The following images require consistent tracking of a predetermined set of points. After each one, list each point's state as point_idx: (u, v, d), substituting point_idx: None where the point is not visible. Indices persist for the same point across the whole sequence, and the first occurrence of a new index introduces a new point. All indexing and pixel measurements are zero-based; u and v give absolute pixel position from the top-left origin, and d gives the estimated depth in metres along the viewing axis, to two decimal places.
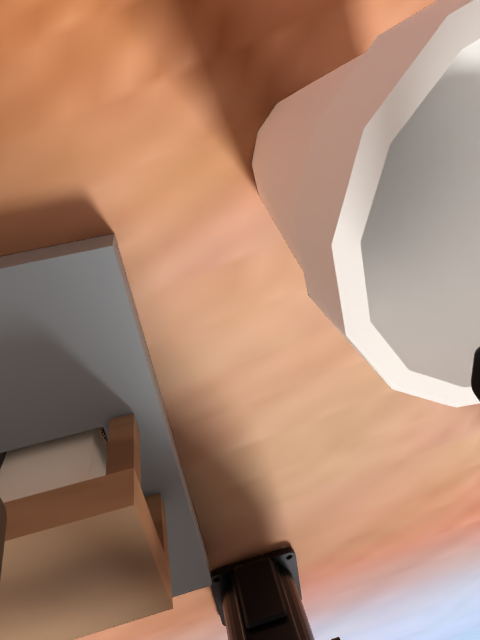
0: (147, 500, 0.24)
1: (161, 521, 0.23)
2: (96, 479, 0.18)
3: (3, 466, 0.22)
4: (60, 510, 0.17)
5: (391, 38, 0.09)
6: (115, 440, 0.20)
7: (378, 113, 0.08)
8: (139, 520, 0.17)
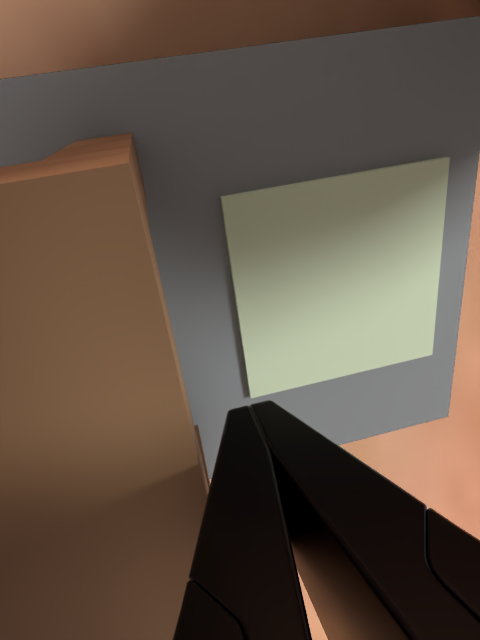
0: None
1: None
2: None
3: None
4: None
5: None
6: None
7: None
8: None
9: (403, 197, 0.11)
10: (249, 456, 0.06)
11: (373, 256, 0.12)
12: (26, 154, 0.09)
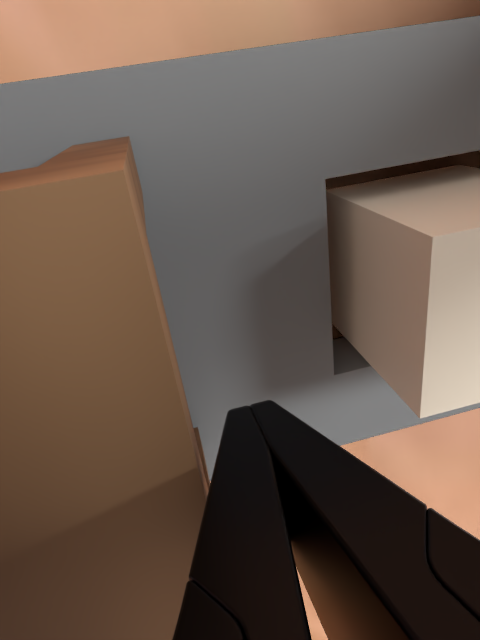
0: None
1: None
2: None
3: (358, 348, 0.13)
4: None
5: None
6: None
7: None
8: None
9: None
10: (249, 456, 0.06)
11: None
12: (477, 84, 0.11)
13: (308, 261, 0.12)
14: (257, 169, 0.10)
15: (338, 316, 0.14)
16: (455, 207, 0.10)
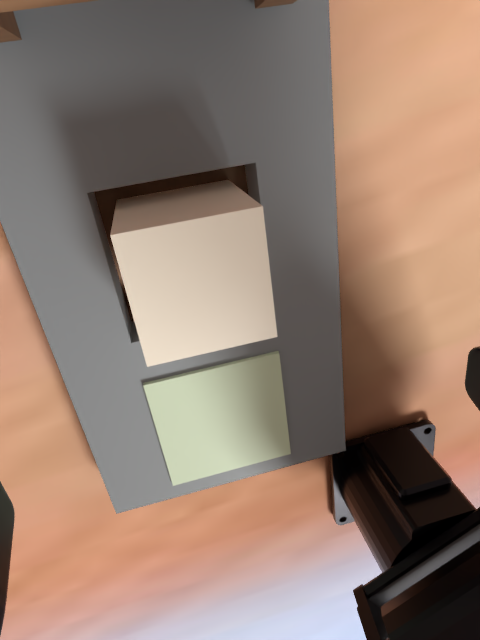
0: None
1: None
2: None
3: (117, 210, 0.15)
4: None
5: None
6: None
7: None
8: None
9: (272, 439, 0.21)
10: None
11: (241, 433, 0.21)
12: (305, 258, 0.18)
13: (196, 155, 0.15)
14: (264, 108, 0.15)
15: (130, 200, 0.17)
16: None
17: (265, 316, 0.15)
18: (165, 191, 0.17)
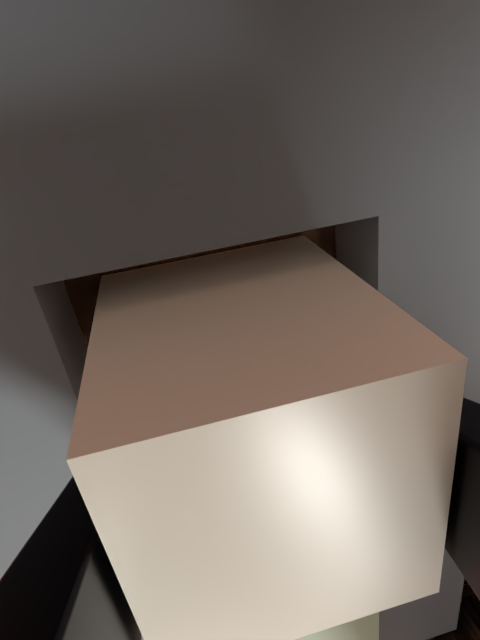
0: None
1: None
2: None
3: (99, 319, 0.07)
4: None
5: None
6: None
7: None
8: None
9: (354, 633, 0.13)
10: None
11: None
12: None
13: (263, 204, 0.07)
14: (408, 106, 0.07)
15: (127, 284, 0.09)
16: None
17: (423, 564, 0.07)
18: (191, 260, 0.09)
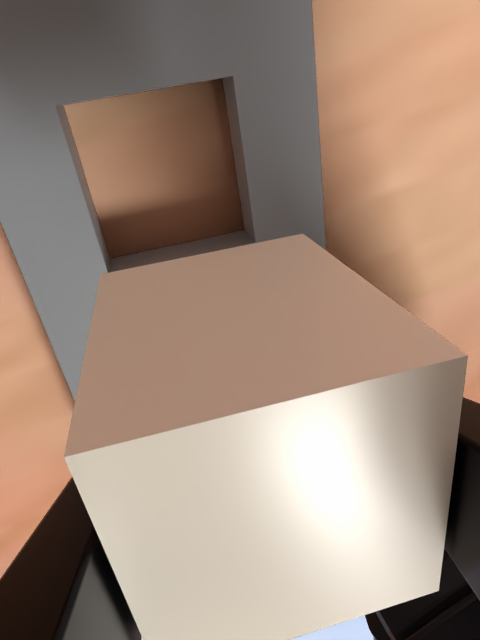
0: None
1: None
2: None
3: (98, 317, 0.07)
4: None
5: None
6: None
7: None
8: None
9: None
10: None
11: None
12: (288, 185, 0.17)
13: (169, 65, 0.14)
14: (240, 14, 0.14)
15: (126, 282, 0.09)
16: None
17: (423, 563, 0.07)
18: (191, 258, 0.09)
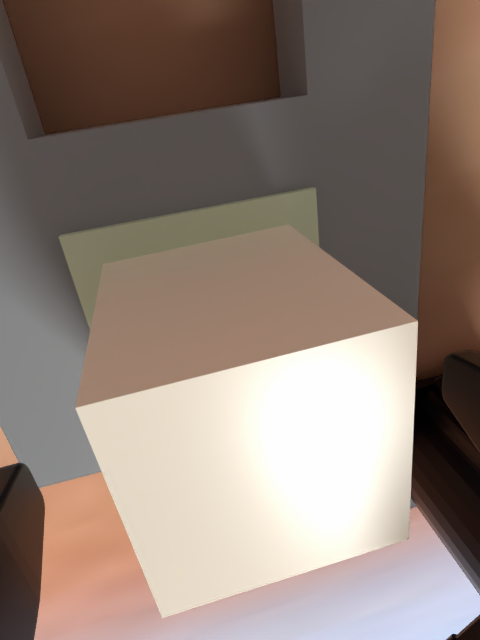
0: None
1: None
2: None
3: (101, 300, 0.08)
4: None
5: None
6: None
7: None
8: None
9: None
10: None
11: None
12: None
13: None
14: None
15: (126, 270, 0.09)
16: None
17: (392, 511, 0.07)
18: (185, 248, 0.10)
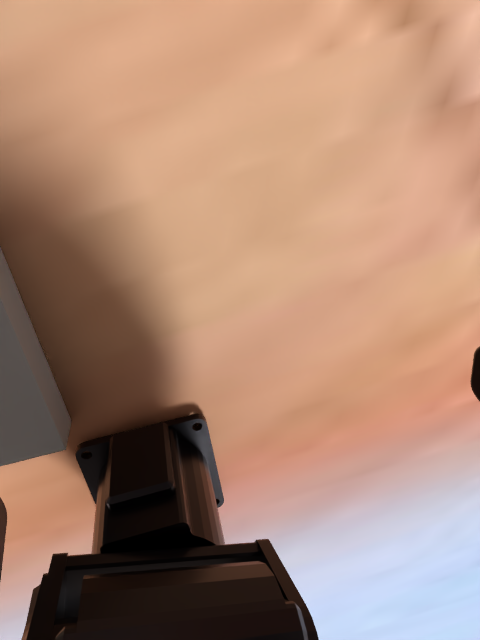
0: None
1: None
2: None
3: None
4: None
5: None
6: None
7: None
8: None
9: None
10: None
11: None
12: None
13: None
14: None
15: None
16: None
17: None
18: None
